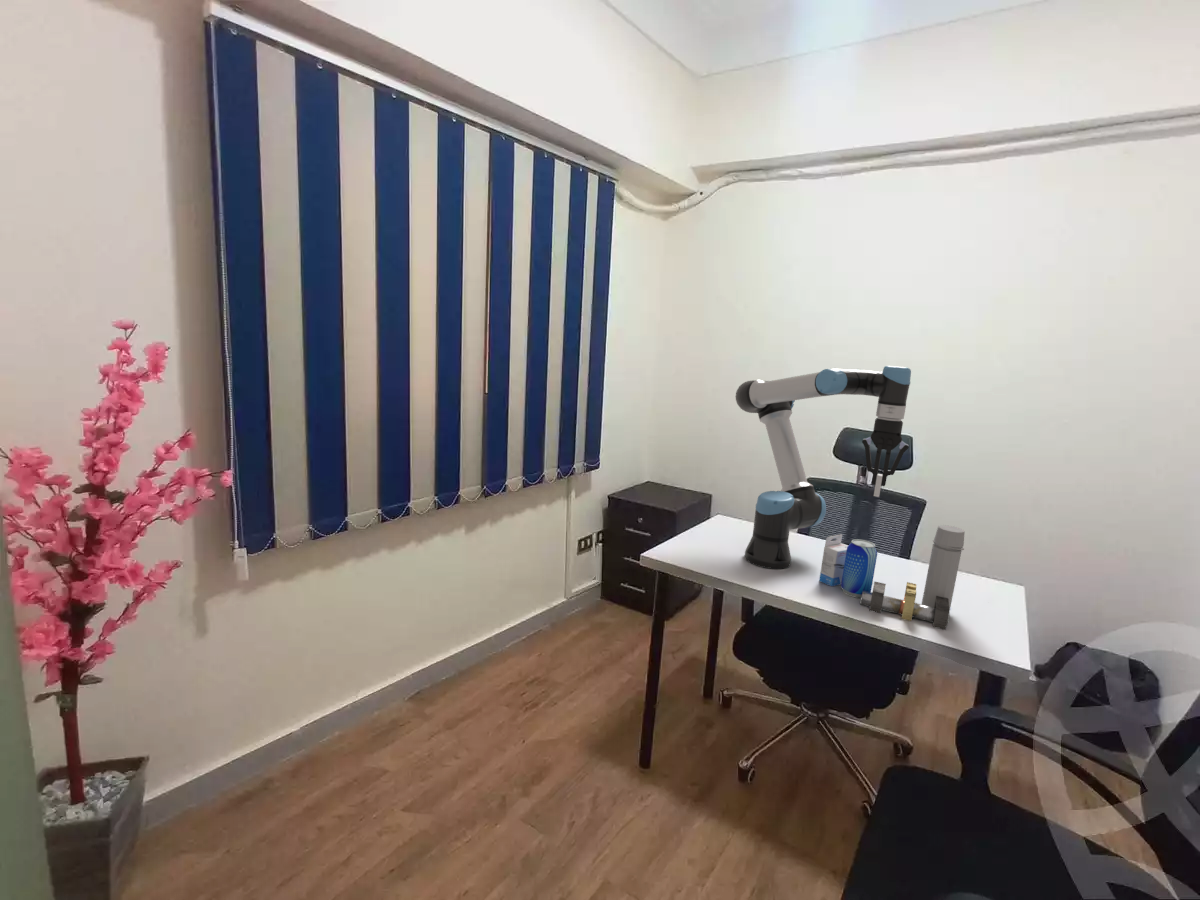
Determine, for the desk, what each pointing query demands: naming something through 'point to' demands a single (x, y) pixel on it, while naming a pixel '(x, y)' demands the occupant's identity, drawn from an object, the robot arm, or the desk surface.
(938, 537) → the water bottle
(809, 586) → the desk surface
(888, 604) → the tube
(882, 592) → the collar
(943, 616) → the collar
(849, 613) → the desk surface
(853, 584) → the beer can
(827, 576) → the ink box
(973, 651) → the desk surface
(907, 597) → the aperture bridge
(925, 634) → the desk surface
